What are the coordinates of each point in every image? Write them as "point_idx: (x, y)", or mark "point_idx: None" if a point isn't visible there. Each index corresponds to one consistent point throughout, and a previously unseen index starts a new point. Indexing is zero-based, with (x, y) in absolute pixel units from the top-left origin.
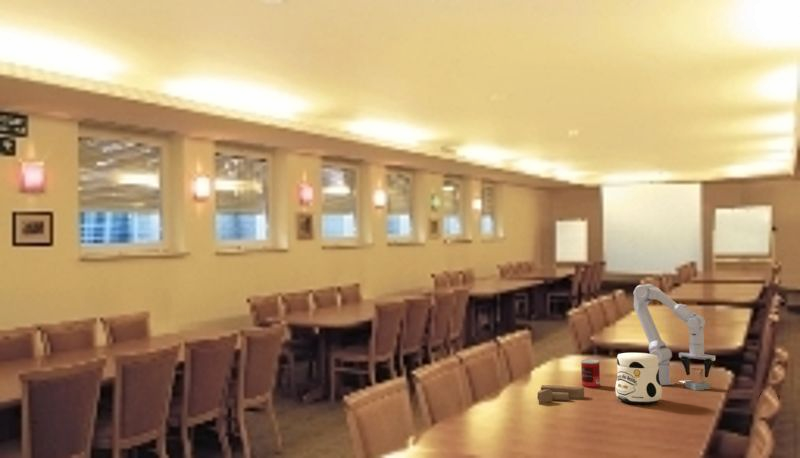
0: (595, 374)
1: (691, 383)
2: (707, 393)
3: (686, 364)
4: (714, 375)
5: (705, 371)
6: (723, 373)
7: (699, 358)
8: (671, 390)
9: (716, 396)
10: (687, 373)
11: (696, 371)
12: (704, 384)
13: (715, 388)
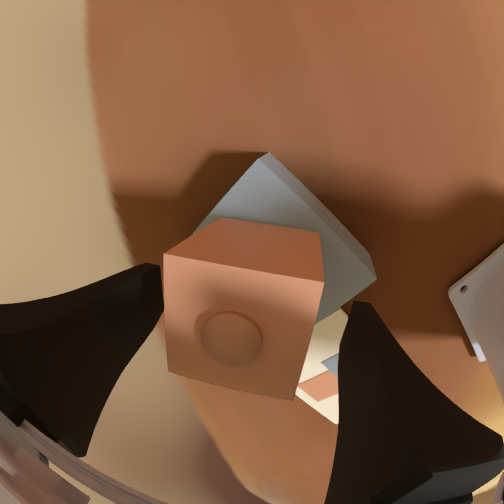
0: None
1: (305, 201)
2: (159, 95)
3: (388, 396)
4: (270, 478)
5: (108, 286)
6: (253, 488)
7: (109, 486)
8: (437, 62)
9: (99, 52)
10: (361, 310)
11: (205, 261)
12: (195, 230)
13: None
